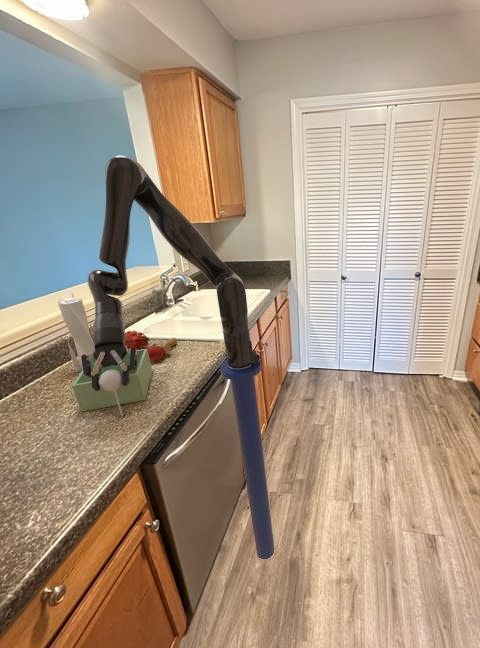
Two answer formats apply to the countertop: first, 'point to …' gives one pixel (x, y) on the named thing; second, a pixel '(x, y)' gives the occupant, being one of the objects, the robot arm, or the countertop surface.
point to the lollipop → (111, 382)
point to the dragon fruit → (135, 340)
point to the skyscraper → (77, 328)
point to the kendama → (160, 349)
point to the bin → (126, 394)
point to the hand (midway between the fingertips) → (111, 387)
